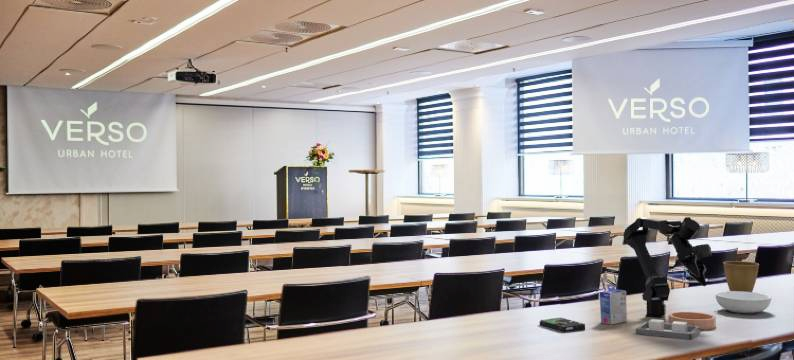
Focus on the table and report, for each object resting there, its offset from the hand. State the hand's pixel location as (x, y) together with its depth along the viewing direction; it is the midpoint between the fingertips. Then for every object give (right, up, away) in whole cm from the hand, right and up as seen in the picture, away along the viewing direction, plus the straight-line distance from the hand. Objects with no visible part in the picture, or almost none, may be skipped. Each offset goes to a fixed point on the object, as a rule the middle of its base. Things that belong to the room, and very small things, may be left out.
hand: (702, 281), depth 266 cm
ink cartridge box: (-28, -18, +15) cm, 37 cm away
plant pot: (+47, -17, +68) cm, 85 cm away
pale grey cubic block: (-11, -18, -7) cm, 22 cm away
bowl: (0, -18, +8) cm, 20 cm away
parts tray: (-14, -18, -4) cm, 23 cm away
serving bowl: (+31, -18, +34) cm, 50 cm away
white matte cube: (-18, -18, -2) cm, 25 cm away
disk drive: (-50, -19, +6) cm, 54 cm away
